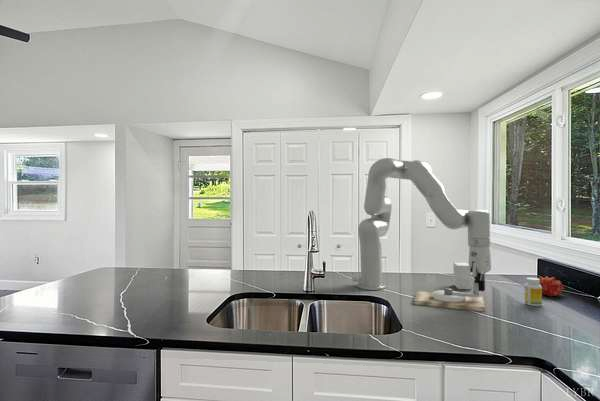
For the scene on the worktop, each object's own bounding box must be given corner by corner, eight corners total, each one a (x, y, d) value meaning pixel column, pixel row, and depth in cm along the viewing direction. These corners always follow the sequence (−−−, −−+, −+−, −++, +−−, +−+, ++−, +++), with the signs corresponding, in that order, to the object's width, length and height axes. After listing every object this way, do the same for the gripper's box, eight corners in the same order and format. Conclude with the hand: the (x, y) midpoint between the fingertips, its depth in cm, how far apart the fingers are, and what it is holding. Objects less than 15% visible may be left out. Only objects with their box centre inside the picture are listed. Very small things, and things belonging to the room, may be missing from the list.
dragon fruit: (530, 298, 142) (561, 303, 141) (542, 290, 135) (574, 295, 134) (525, 279, 147) (555, 283, 146) (537, 270, 140) (568, 275, 139)
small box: (471, 289, 152) (471, 265, 152) (457, 289, 153) (457, 265, 153) (466, 285, 160) (466, 262, 160) (453, 284, 161) (453, 262, 161)
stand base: (413, 304, 133) (413, 299, 133) (417, 294, 145) (417, 290, 145) (484, 311, 122) (484, 306, 122) (482, 300, 135) (482, 296, 135)
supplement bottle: (521, 303, 131) (521, 278, 131) (530, 301, 133) (529, 276, 133) (536, 307, 126) (536, 280, 126) (545, 305, 129) (544, 279, 129)
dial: (430, 300, 131) (430, 283, 131) (432, 292, 142) (432, 276, 142) (479, 305, 124) (479, 287, 124) (478, 296, 135) (477, 280, 135)
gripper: (481, 245, 125) (482, 296, 125) (496, 241, 135) (497, 288, 135) (460, 243, 130) (461, 292, 130) (476, 239, 140) (476, 285, 140)
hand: (479, 290), depth 132 cm, fingers closed
